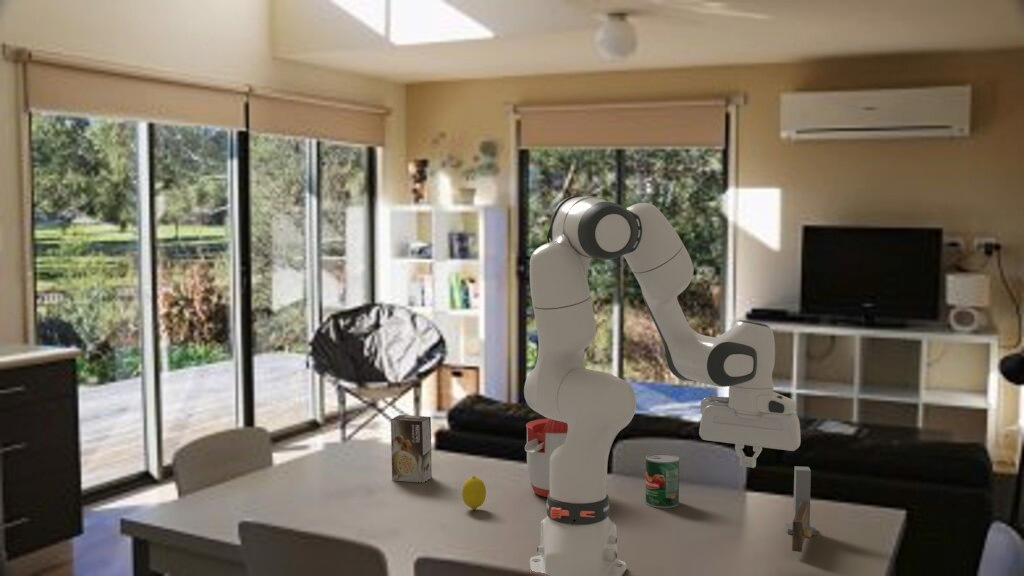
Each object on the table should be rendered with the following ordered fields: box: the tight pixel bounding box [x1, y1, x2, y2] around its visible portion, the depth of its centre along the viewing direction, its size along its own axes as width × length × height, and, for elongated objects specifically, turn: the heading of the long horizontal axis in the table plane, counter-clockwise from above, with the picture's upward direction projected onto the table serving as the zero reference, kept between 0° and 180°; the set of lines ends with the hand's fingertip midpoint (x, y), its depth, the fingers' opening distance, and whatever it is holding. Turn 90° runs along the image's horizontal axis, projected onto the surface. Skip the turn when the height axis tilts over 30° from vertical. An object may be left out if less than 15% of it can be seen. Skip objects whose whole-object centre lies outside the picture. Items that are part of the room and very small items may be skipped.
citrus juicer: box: [524, 418, 568, 498], centre depth 236 cm, size 16×17×20 cm
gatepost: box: [784, 465, 818, 536], centre depth 208 cm, size 4×6×14 cm, turn 81°
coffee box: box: [390, 414, 433, 484], centre depth 249 cm, size 9×6×16 cm
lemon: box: [461, 475, 487, 511], centre depth 223 cm, size 6×6×8 cm
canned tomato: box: [645, 453, 680, 509], centre depth 228 cm, size 8×8×11 cm
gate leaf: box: [791, 502, 812, 553], centre depth 198 cm, size 3×14×6 cm, turn 157°
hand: (747, 466), depth 198 cm, fingers closed
